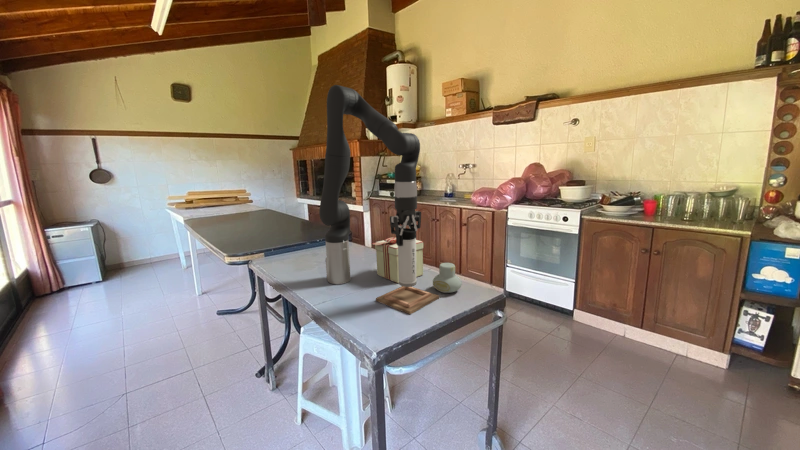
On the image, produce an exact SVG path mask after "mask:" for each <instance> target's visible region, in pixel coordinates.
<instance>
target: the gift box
mask: <svg viewBox="0 0 800 450" xmlns="http://www.w3.org/2000/svg"><path fill="white" fill-rule="evenodd" d="M371 245H373V246H374V250H375V255H376V274H377V276H380V277H381V278H384V279H386V280H389V281H392V282H394V283H396V284H399V269H398V245H397V244H396V236H395V237H388V238H384V240H379V241H375V242H371ZM423 249H424V241H422V240H419V239H416V278H417V277H420V276H423V275H424V258H423V256H424V255H423Z"/></svg>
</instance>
